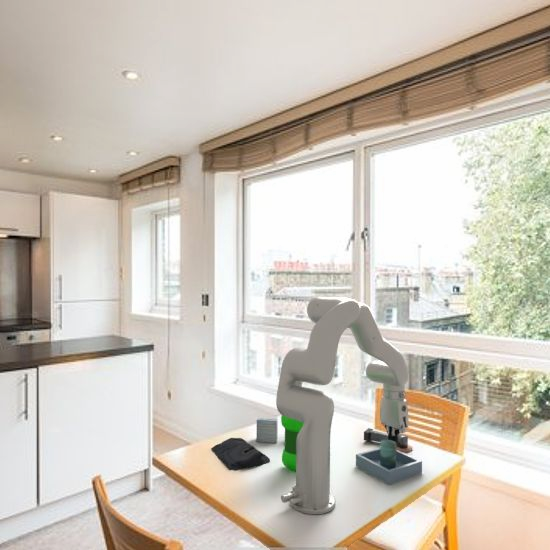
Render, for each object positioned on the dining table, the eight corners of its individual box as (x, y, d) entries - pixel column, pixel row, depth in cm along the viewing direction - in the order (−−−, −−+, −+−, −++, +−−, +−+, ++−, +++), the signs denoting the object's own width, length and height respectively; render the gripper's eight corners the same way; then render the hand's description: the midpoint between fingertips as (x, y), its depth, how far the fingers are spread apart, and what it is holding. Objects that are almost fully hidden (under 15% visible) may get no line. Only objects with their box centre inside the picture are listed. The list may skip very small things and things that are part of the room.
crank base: (403, 453, 153) (403, 452, 153) (388, 447, 159) (388, 445, 159) (416, 449, 157) (416, 448, 157) (401, 443, 163) (401, 441, 163)
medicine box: (277, 439, 167) (277, 416, 167) (276, 443, 162) (276, 420, 162) (257, 438, 167) (258, 416, 167) (256, 442, 163) (256, 419, 163)
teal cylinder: (387, 471, 137) (387, 446, 137) (377, 465, 141) (377, 440, 142) (399, 468, 139) (399, 443, 139) (388, 462, 144) (389, 438, 144)
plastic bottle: (292, 478, 133) (292, 399, 134) (275, 466, 142) (275, 391, 143) (317, 471, 139) (318, 395, 139) (299, 459, 148) (300, 387, 148)
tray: (389, 484, 130) (389, 471, 130) (355, 466, 143) (355, 454, 143) (422, 473, 138) (422, 461, 138) (387, 456, 151) (387, 445, 151)
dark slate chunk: (246, 442, 164) (246, 430, 164) (272, 464, 145) (273, 450, 145) (208, 449, 157) (208, 436, 157) (231, 474, 137) (231, 459, 137)
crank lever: (409, 445, 159) (409, 435, 159) (405, 449, 155) (405, 439, 155) (368, 436, 168) (368, 426, 168) (363, 440, 164) (363, 430, 164)
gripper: (417, 398, 149) (416, 450, 148) (385, 388, 161) (384, 437, 161) (402, 400, 145) (401, 454, 144) (371, 390, 157) (370, 440, 157)
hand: (392, 445), depth 153 cm, fingers closed
